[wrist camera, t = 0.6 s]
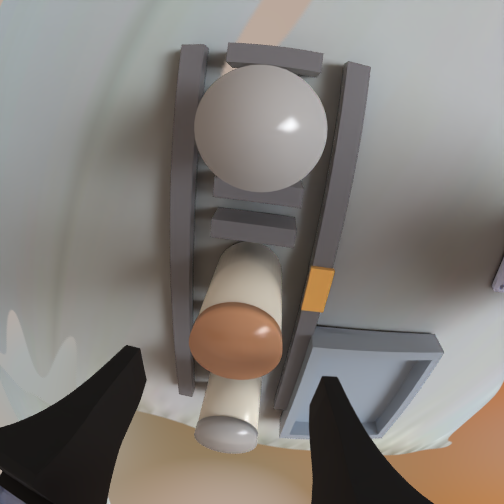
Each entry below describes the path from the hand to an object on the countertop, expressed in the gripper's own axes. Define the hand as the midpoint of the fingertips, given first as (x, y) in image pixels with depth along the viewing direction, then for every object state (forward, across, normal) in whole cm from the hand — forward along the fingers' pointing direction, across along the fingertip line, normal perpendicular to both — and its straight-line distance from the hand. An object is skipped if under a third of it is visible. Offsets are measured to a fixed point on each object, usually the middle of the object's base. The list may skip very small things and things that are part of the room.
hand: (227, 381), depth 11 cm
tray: (+9, -10, +10) cm, 17 cm away
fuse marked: (+9, 0, 0) cm, 9 cm away
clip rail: (+9, 0, 0) cm, 9 cm away
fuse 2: (+9, 0, +9) cm, 13 cm away
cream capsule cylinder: (+9, 0, -9) cm, 13 cm away
